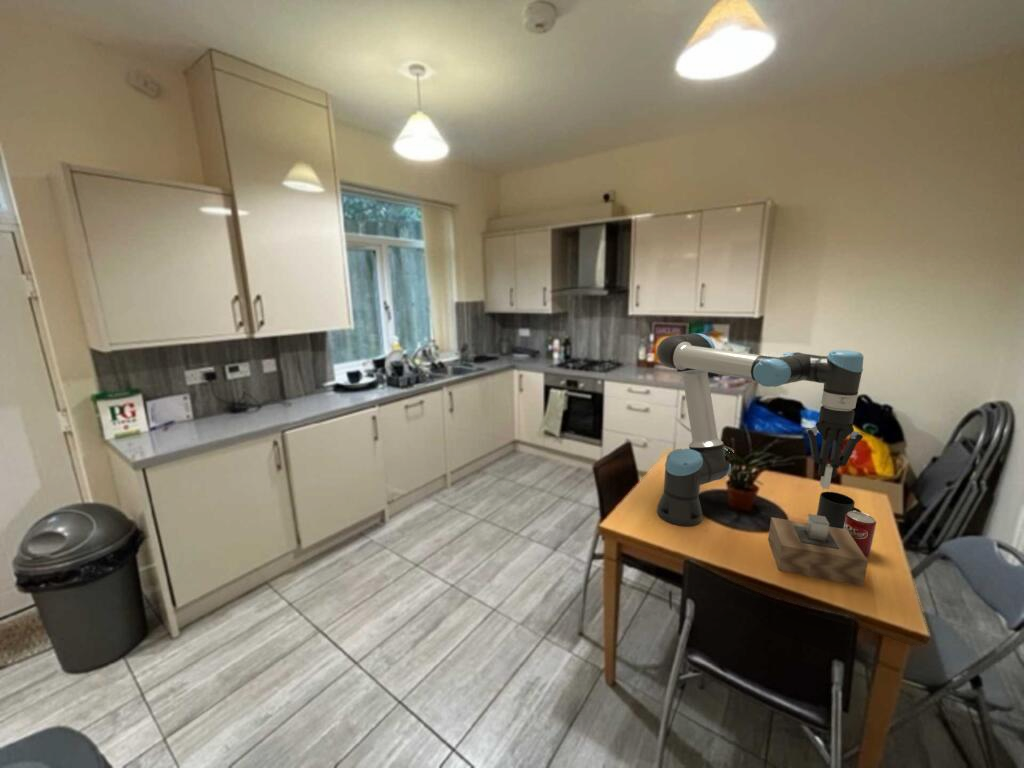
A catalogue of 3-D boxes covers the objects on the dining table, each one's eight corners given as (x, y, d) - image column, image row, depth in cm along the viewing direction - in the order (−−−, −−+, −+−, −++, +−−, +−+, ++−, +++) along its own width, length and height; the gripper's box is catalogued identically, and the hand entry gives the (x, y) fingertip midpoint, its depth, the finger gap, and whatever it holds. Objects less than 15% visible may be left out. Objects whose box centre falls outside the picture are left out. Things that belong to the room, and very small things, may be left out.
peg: (808, 545, 124) (812, 521, 123) (804, 537, 128) (808, 514, 126) (824, 548, 123) (829, 523, 121) (820, 540, 127) (824, 516, 125)
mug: (859, 535, 139) (864, 510, 137) (815, 523, 147) (819, 499, 145) (859, 522, 147) (864, 499, 145) (817, 511, 154) (821, 488, 152)
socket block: (778, 569, 123) (782, 544, 121) (768, 539, 138) (771, 516, 136) (862, 586, 116) (868, 560, 114) (842, 552, 131) (847, 528, 129)
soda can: (857, 561, 127) (864, 525, 124) (833, 547, 134) (840, 512, 131) (875, 556, 129) (883, 521, 126) (850, 543, 135) (857, 509, 133)
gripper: (813, 408, 115) (801, 489, 120) (872, 413, 110) (857, 496, 116) (805, 401, 122) (794, 477, 127) (861, 405, 117) (847, 484, 122)
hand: (824, 486), depth 121 cm, fingers closed
